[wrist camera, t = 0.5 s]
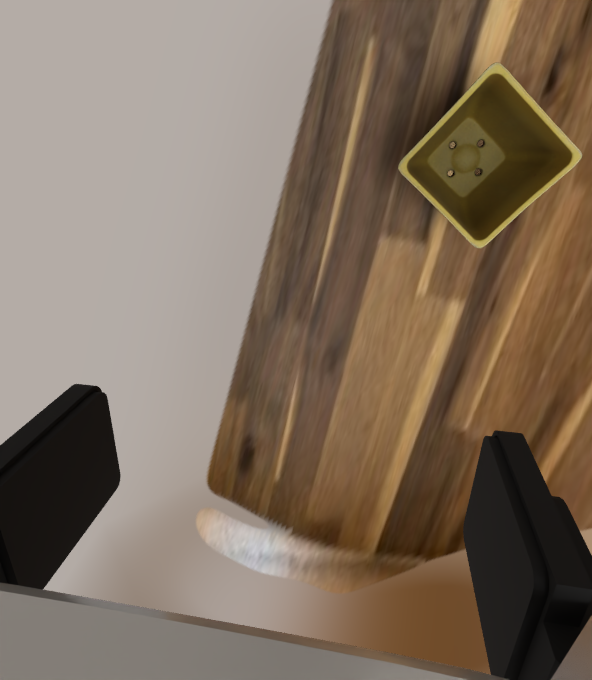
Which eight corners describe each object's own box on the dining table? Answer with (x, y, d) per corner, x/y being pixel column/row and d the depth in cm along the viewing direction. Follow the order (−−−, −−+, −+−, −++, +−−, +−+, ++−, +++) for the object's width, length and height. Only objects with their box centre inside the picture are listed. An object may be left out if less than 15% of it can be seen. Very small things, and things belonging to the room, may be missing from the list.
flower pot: (472, 74, 38) (498, 57, 29) (543, 152, 39) (586, 156, 31) (392, 161, 41) (395, 167, 33) (459, 229, 42) (478, 252, 34)
